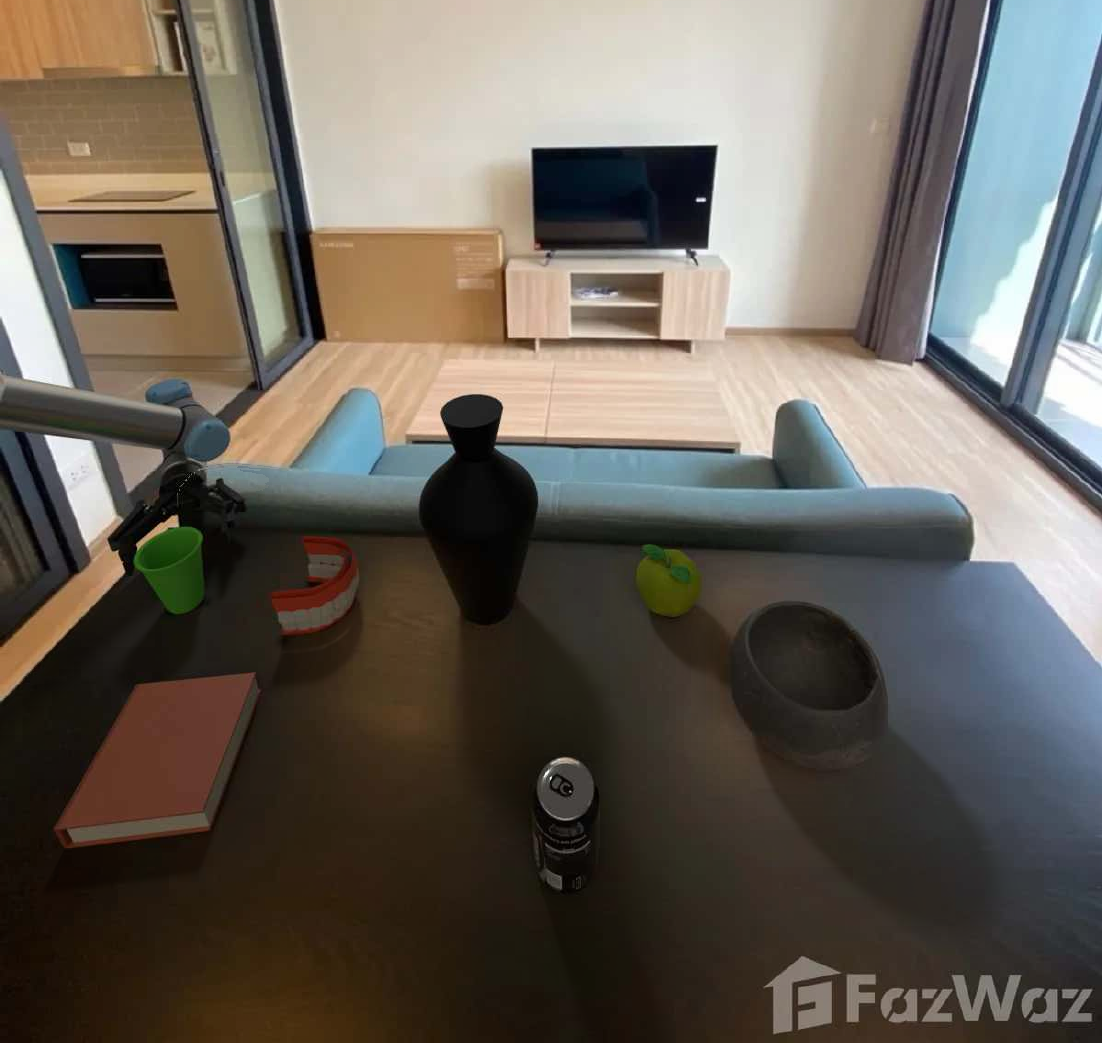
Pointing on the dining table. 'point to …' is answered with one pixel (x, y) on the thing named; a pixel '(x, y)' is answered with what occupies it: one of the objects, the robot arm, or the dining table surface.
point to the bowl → (808, 685)
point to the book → (162, 762)
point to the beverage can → (566, 825)
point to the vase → (479, 512)
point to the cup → (174, 567)
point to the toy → (319, 588)
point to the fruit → (667, 581)
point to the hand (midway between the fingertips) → (178, 553)
